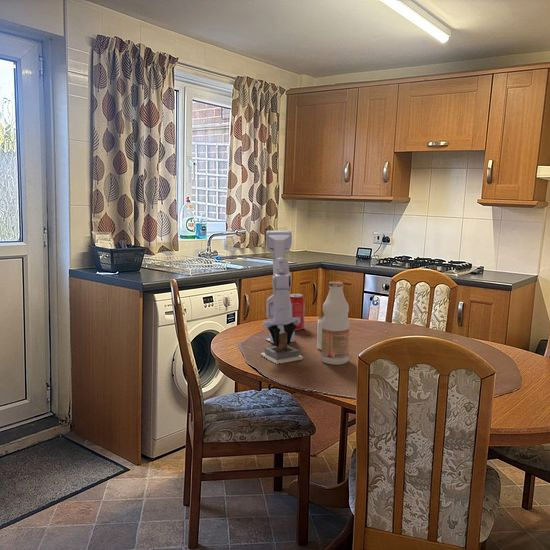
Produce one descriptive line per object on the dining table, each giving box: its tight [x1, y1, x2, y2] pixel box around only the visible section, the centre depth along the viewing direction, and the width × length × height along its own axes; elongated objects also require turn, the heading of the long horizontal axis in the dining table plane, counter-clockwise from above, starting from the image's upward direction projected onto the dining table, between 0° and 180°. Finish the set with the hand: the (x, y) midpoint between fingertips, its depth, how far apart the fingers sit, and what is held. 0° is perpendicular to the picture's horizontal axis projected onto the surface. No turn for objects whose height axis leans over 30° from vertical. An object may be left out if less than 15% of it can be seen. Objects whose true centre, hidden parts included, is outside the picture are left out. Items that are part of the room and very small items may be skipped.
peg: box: [276, 332, 287, 351], centre depth 192 cm, size 4×4×6 cm
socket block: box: [260, 345, 304, 365], centre depth 193 cm, size 11×11×3 cm
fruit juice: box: [321, 281, 350, 366], centre depth 187 cm, size 9×9×28 cm
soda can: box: [290, 293, 306, 332], centre depth 232 cm, size 8×8×15 cm
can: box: [316, 315, 324, 351], centre depth 203 cm, size 6×6×12 cm
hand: (281, 344), depth 192 cm, fingers closed on peg, 4 cm apart
